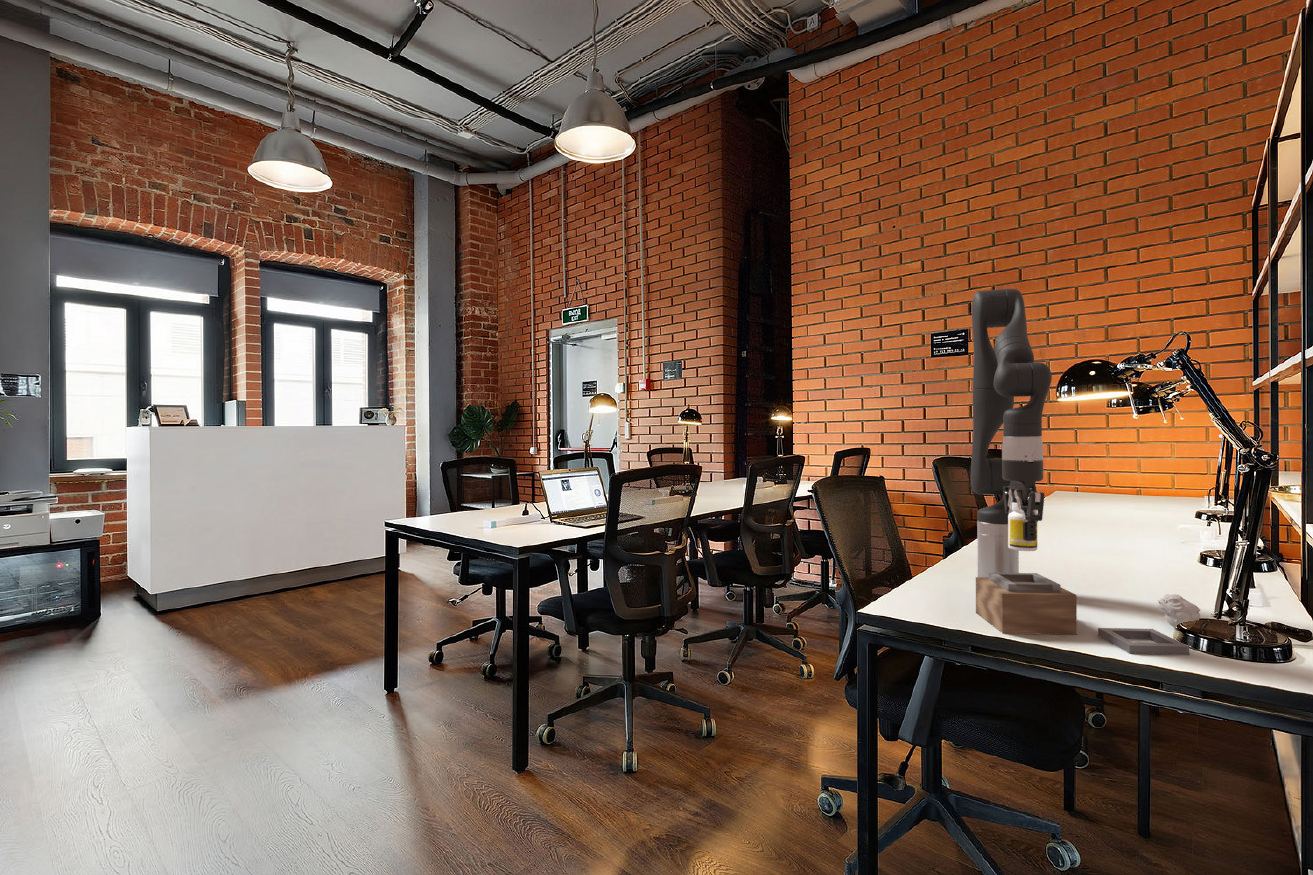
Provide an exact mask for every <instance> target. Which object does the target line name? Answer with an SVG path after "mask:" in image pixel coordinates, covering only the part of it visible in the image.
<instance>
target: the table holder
mask: <svg viewBox="0 0 1313 875" xmlns="http://www.w3.org/2000/svg"><path fill="white" fill-rule="evenodd" d="M1097 631H1098V632H1097V635H1098V636H1099V637H1100V638H1102V639H1104V640H1106V641H1107V642H1109V643H1111V644H1112V645H1114V646H1116V647H1118V648H1119V649H1121V650H1122V651H1125V652H1127V653H1128V654H1133V655H1134V654H1135V655H1136V654H1138V655H1141V654H1142V655H1143V654H1144V655H1145V654H1146V655H1179V656H1180V655H1181V656H1182V655H1183V656H1184V655H1186V656H1187V655H1188V656H1190V646H1188V645H1187V644H1184V643H1182V642H1180V641H1179V640H1176V639H1174V638H1172V637H1170V636H1168V635H1166V634H1164V633H1162V632H1160V631H1158V630H1156V629H1154V628H1134V627H1133V628H1128V627H1127V628H1125V627H1120V628H1119V627H1098V628H1097ZM1129 639H1132V640H1133V639H1137V640H1138V639H1139V640H1140V639H1141V640H1142V639H1143V640H1144V639H1145V640H1147V639H1149V640H1151V641H1153V642H1133V641H1131V640H1129Z"/></svg>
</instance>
